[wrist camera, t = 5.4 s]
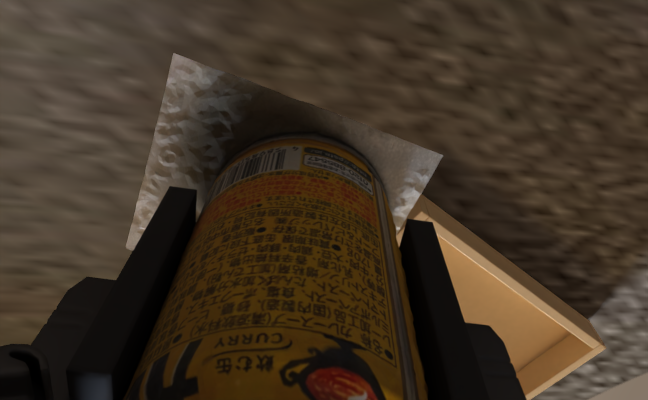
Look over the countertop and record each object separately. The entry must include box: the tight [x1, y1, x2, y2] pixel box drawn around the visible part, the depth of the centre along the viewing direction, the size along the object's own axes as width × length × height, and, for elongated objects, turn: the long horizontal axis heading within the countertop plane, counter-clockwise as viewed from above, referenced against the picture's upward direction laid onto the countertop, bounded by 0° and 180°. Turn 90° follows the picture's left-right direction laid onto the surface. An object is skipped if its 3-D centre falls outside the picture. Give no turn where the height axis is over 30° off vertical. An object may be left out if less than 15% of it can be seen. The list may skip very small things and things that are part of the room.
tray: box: [396, 194, 606, 400], centre depth 33 cm, size 16×12×2 cm
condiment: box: [123, 53, 443, 400], centre depth 12 cm, size 7×8×12 cm
